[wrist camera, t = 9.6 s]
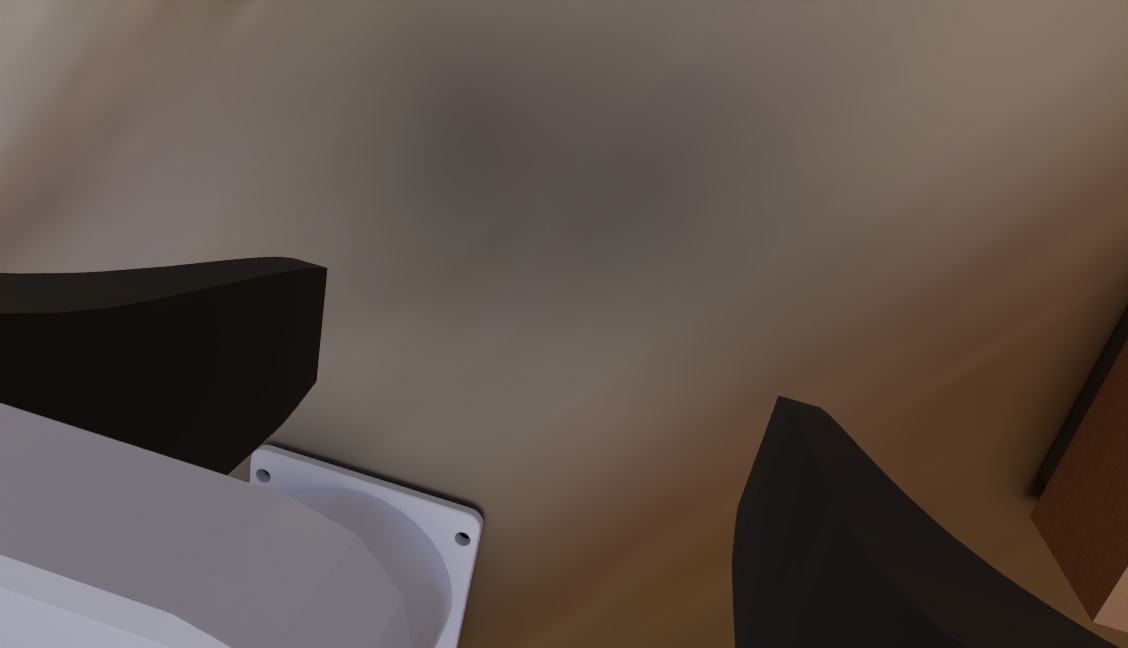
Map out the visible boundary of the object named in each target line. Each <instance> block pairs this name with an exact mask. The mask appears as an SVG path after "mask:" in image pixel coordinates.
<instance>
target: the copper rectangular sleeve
mask: <svg viewBox="0 0 1128 648" xmlns="http://www.w3.org/2000/svg"><path fill="white" fill-rule="evenodd" d="M1030 517H1031V519H1032V520H1033V522H1034V524H1035V526H1036V527H1037V529H1038V531H1039V532H1040V534H1041V536H1042V537H1043V539H1044V541H1045V542H1046V544H1047V546H1048V547H1049V549H1050V551H1051V552H1052V554H1053V556H1054V558H1055V559H1056V561H1057V563H1058V564H1059V566H1060V568H1061V569H1062V571H1063V573H1064V574H1065V576H1066V578H1067V579H1068V581H1069V583H1070V584H1071V586H1072V588H1073V590H1074V591H1075V593H1076V595H1077V596H1078V598H1079V600H1080V601H1081V603H1082V605H1083V606H1084V608H1085V610H1086V611H1087V613H1088V615H1089V616H1090V618H1091V620H1092V621H1093V622H1095V623H1098V624H1101V625H1105V626H1108V627H1111V628H1114V629H1118V630H1121V631H1124V632H1128V339H1127V341H1126V343H1125V344H1124V346H1123V348H1122V350H1121V352H1120V353H1119V355H1118V357H1117V359H1116V361H1115V363H1114V364H1113V366H1112V368H1111V370H1110V372H1109V373H1108V375H1107V377H1106V379H1105V381H1104V383H1103V384H1102V386H1101V388H1100V390H1099V392H1098V393H1097V395H1096V397H1095V399H1094V401H1093V403H1092V404H1091V406H1090V408H1089V410H1088V412H1087V413H1086V415H1085V417H1084V419H1083V421H1082V423H1081V424H1080V426H1079V428H1078V430H1077V432H1076V433H1075V435H1074V437H1073V439H1072V441H1071V443H1070V444H1069V446H1068V448H1067V450H1066V452H1065V453H1064V455H1063V457H1062V459H1061V461H1060V463H1059V464H1058V466H1057V468H1056V470H1055V472H1054V473H1053V475H1052V477H1051V479H1050V481H1049V483H1048V484H1047V486H1046V488H1045V490H1044V492H1043V493H1042V495H1041V497H1040V499H1039V501H1038V503H1037V504H1036V506H1035V508H1034V510H1033V512H1032V513H1031V515H1030Z"/></svg>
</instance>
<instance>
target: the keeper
mask: <svg viewBox="0 0 1128 648" xmlns="http://www.w3.org/2000/svg"><path fill="white" fill-rule="evenodd" d="M1127 339H1128V308H1127V310H1126V312H1125V314H1124V316H1123V318H1122V319H1121V321H1120V323H1119V325H1118V327H1117V329H1116V330H1115V332H1114V334H1113V336H1112V338H1111V340H1110V342H1109V343H1108V345H1107V347H1106V349H1105V351H1104V353H1103V355H1102V356H1101V358H1100V360H1099V362H1098V364H1097V366H1096V367H1095V369H1094V371H1093V373H1092V375H1091V377H1090V379H1089V380H1088V382H1087V384H1086V386H1085V388H1084V390H1083V392H1082V393H1081V395H1080V397H1079V399H1078V401H1077V403H1076V404H1075V406H1074V408H1073V410H1072V412H1071V414H1070V416H1069V417H1068V419H1067V421H1066V423H1065V425H1064V427H1063V429H1062V430H1061V432H1060V434H1059V436H1058V438H1057V440H1056V441H1055V443H1054V445H1053V447H1052V449H1051V451H1050V453H1049V454H1048V456H1047V458H1046V460H1045V462H1044V464H1043V465H1042V467H1041V469H1040V471H1039V475H1040V476H1041V478H1042V479H1043V481H1044V482H1045V484H1046V485H1047V484H1048V483H1049V481H1050V479H1051V477H1052V475H1053V473H1054V472H1055V470H1056V468H1057V466H1058V464H1059V463H1060V461H1061V459H1062V457H1063V455H1064V453H1065V452H1066V450H1067V448H1068V446H1069V444H1070V443H1071V441H1072V439H1073V437H1074V435H1075V433H1076V432H1077V430H1078V428H1079V426H1080V424H1081V423H1082V421H1083V419H1084V417H1085V415H1086V413H1087V412H1088V410H1089V408H1090V406H1091V404H1092V403H1093V401H1094V399H1095V397H1096V395H1097V393H1098V392H1099V390H1100V388H1101V386H1102V384H1103V383H1104V381H1105V379H1106V377H1107V375H1108V373H1109V372H1110V370H1111V368H1112V366H1113V364H1114V363H1115V361H1116V359H1117V357H1118V355H1119V353H1120V352H1121V350H1122V348H1123V346H1124V344H1125V343H1126V341H1127Z"/></svg>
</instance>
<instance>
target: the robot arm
mask: <svg viewBox="0 0 1128 648" xmlns="http://www.w3.org/2000/svg"><path fill="white" fill-rule="evenodd" d="M326 277H327V268H326V267H322V266H319V265H315V264H312V263H308V262H305V261H301V260H298V259H294V258H287V257H259V258H245V259H234V260H224V261H214V262H205V263H195V264H186V265H176V266H166V267H154V268H141V269H129V270H116V271H104V272H85V273H24V274H21V273H0V648H457V647H458V642H459V637H460V633H461V628H462V623H463V618H464V614H465V609H466V604H467V599H468V595H469V590H470V585H471V580H472V575H473V571H474V566H475V561H476V556H477V552H478V547H479V542H480V537H481V533H482V528H483V519H482V517H481V515H480V514H479V513H478V512H477V511H476V510H474V509H472V508H469V507H466V506H463V505H460V504H456V503H453V502H450V501H447V500H444V499H441V498H437V497H434V496H431V495H428V494H425V493H421V492H418V491H415V490H412V489H409V488H405V487H402V486H399V485H396V484H393V483H389V482H386V481H383V480H380V479H377V478H373V477H370V476H367V475H364V474H361V473H358V472H354V471H351V470H348V469H345V468H342V467H338V466H335V465H332V464H329V463H326V462H322V461H319V460H316V459H313V458H310V457H306V456H303V455H300V454H297V453H294V452H291V451H287V450H284V449H281V448H278V447H275V446H271V445H262V446H260V445H261V444H262V443H263V442H264V441H265V440H266V439H267V438H268V437H269V436H271V435H272V434H273V433H274V432H275V431H276V430H277V429H278V428H279V427H280V426H281V425H282V424H283V423H284V422H285V420H286V419H287V418H288V417H289V416H290V414H291V413H292V412H293V411H294V410H295V408H296V407H297V406H298V405H299V404H300V402H301V401H302V400H303V398H304V397H305V396H306V394H307V393H308V392H309V390H310V389H311V388H312V386H313V385H314V384H315V383H316V380H317V370H318V360H319V349H320V339H321V329H322V318H323V308H324V298H325V287H326ZM259 446H260V447H259ZM258 447H259V448H258ZM257 448H258V449H257ZM255 449H257V450H256V451H255V452H254V453H252V452H253V451H254V450H255ZM251 453H252V456H251V466H250V482H249V483H248V482H245V481H242V480H239V479H236V478H233V477H230V476H227V475H228V474H229V473H230V472H231V471H232V470H233V469H235V468H236V467H237V466H238V465H239V464H240V463H241V462H242V461H243V460H245V459H246V458H247V457H248V456H249V455H250V454H251ZM263 469H264V470H266V471H268V473H269V474H270V476H268V475H266V474H265V473H264V471H263ZM459 532H463V533H465V534H467V535H468V536H469V537H470V539H466V538H463V537H462V536H461V535H460V534H459ZM732 585H733V609H734V630H735V648H1119V647H1117V646H1115V645H1113V644H1112V643H1110V642H1108V641H1106V640H1104V639H1103V638H1101V637H1099V636H1098V635H1096V634H1094V633H1093V632H1091V631H1089V630H1088V629H1086V628H1084V627H1083V626H1081V625H1079V624H1078V623H1076V622H1074V621H1072V620H1071V619H1069V618H1068V617H1066V616H1064V615H1063V614H1061V613H1060V612H1058V611H1057V610H1055V609H1054V608H1052V607H1051V606H1049V605H1047V604H1046V603H1044V602H1043V601H1041V600H1040V599H1038V598H1037V597H1035V596H1034V595H1032V594H1031V593H1029V592H1028V591H1026V590H1025V589H1023V588H1022V587H1020V586H1019V585H1017V584H1016V583H1014V582H1013V581H1011V580H1010V579H1009V578H1007V577H1006V576H1004V575H1003V574H1001V573H1000V572H999V571H997V570H996V569H994V568H993V567H992V566H990V565H989V564H988V563H987V562H985V561H984V560H983V559H981V558H980V557H979V556H978V555H976V554H975V553H974V552H972V551H971V550H970V549H969V548H967V547H966V546H965V545H963V544H962V543H961V542H960V541H958V540H957V539H956V538H954V537H953V536H952V535H951V534H950V533H948V532H947V531H946V530H945V529H944V528H943V527H941V526H940V525H939V524H938V523H937V522H936V521H934V520H933V519H932V518H931V517H930V516H929V515H928V514H927V513H926V512H925V511H924V510H922V509H921V508H920V507H919V506H918V505H917V504H916V503H915V502H914V501H913V500H912V499H910V498H909V497H908V496H907V495H906V494H905V493H904V492H903V491H902V490H901V489H900V488H899V487H898V486H897V485H896V484H895V483H894V482H893V481H892V480H891V479H890V478H889V477H888V476H887V475H886V474H885V473H884V472H883V471H882V470H881V469H880V468H879V467H878V466H877V465H876V464H875V463H874V462H873V460H872V459H871V458H870V457H869V456H868V455H867V454H866V453H865V452H864V451H863V450H862V449H861V448H860V447H859V446H858V445H857V443H856V442H855V441H854V440H853V439H852V438H851V437H850V436H849V435H848V434H847V433H846V432H845V431H844V430H843V428H842V427H841V426H840V425H839V424H838V423H837V422H836V421H835V420H834V419H833V418H832V417H831V416H830V415H829V414H828V413H826V412H825V411H824V410H823V409H821V408H820V407H817V406H813V405H810V404H806V403H803V402H799V401H795V400H792V399H788V398H785V397H781V396H778V399H777V401H776V404H775V407H774V409H773V412H772V415H771V418H770V420H769V423H768V426H767V429H766V431H765V434H764V437H763V440H762V442H761V445H760V448H759V450H758V453H757V456H756V459H755V461H754V464H753V467H752V470H751V472H750V475H749V478H748V481H747V483H746V486H745V489H744V492H743V494H742V497H741V500H740V502H739V505H738V508H737V516H736V525H735V534H734V544H733V555H732Z"/></svg>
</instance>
